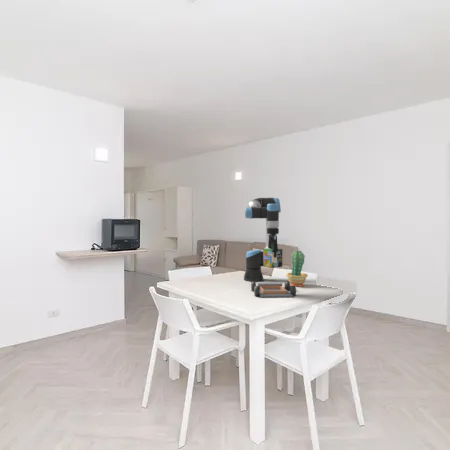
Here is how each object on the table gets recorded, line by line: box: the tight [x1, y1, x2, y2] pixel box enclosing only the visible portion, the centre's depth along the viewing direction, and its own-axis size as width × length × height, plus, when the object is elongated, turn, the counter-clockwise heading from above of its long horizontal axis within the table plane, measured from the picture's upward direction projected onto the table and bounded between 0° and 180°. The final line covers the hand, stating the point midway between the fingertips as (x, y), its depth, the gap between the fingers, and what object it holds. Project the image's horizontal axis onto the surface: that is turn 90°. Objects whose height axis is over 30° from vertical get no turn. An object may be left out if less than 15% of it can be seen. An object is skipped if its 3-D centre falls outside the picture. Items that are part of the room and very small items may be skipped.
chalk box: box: [262, 244, 284, 269], centre depth 205 cm, size 9×9×15 cm
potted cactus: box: [285, 249, 309, 288], centre depth 229 cm, size 15×15×25 cm
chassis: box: [250, 280, 297, 299], centre depth 206 cm, size 24×25×6 cm
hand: (272, 261), depth 205 cm, fingers closed on chalk box, 12 cm apart
